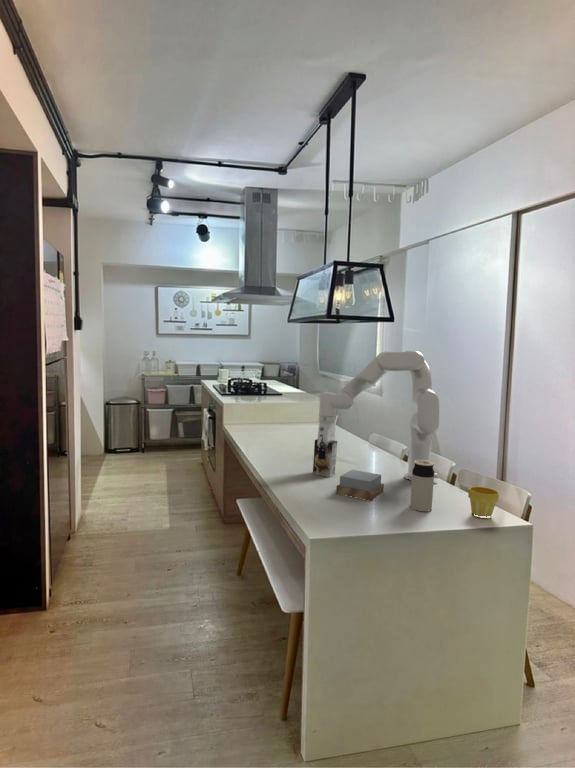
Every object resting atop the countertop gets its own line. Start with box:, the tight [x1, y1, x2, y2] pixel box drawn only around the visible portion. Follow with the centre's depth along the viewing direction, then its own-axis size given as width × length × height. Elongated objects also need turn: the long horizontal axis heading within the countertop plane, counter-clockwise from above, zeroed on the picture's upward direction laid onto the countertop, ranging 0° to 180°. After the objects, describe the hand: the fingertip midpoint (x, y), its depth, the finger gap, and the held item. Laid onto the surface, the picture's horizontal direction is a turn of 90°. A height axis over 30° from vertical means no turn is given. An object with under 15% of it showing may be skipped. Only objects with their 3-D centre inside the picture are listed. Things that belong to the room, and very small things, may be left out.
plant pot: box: [467, 486, 500, 517], centre depth 183 cm, size 10×10×10 cm
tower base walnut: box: [335, 483, 385, 502], centre depth 205 cm, size 15×15×4 cm
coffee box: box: [312, 438, 338, 478], centre depth 230 cm, size 9×6×16 cm
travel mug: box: [409, 460, 435, 512], centre depth 188 cm, size 8×8×18 cm
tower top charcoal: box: [339, 469, 382, 492], centre depth 205 cm, size 13×13×4 cm
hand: (324, 457), depth 230 cm, fingers closed on coffee box, 6 cm apart
